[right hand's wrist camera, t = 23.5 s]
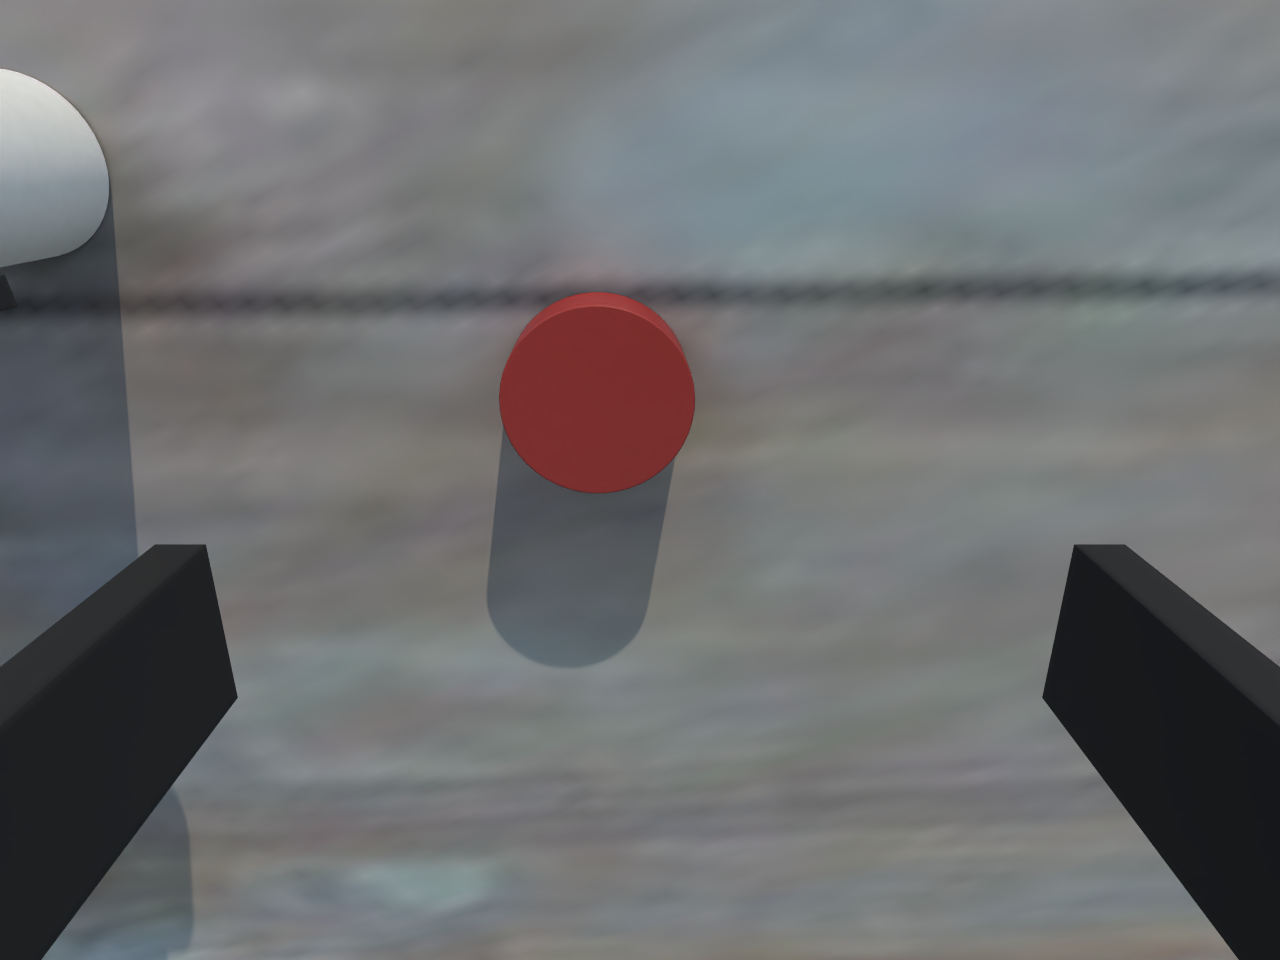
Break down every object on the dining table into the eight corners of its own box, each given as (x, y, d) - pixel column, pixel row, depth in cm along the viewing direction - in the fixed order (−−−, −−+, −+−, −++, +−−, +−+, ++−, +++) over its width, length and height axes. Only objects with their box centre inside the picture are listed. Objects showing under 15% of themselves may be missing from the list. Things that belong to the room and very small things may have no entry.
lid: (480, 326, 24) (468, 342, 22) (657, 266, 23) (661, 277, 22) (545, 488, 26) (539, 516, 24) (709, 436, 25) (718, 460, 23)
